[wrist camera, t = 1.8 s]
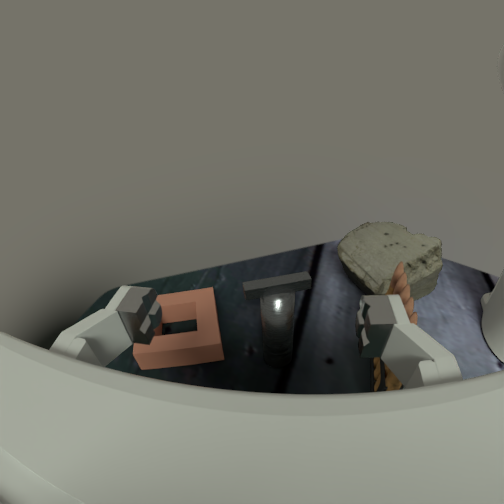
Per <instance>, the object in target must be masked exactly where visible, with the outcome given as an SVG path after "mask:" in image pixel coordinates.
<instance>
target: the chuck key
mask: <svg viewBox="0 0 504 504" xmlns="http://www.w3.org/2000/svg"><path fill="white" fill-rule="evenodd" d="M310 288H311V277H310V275H309V274H308V272H307V271H306V272H300V273H295V274H289V275H283V276H278V277H272V278H266V279H260V280H254V281H248V282H243V291H244V295H245V299H246V300H251V299H257V298H260V304H261V320H262V336H263V352H264V361H265V363H266V364H267V365H269V366H270V367H273V368H282V367H285V366H287V365H288V364H289V363H290V362H291V360H292V349H293V329H294V306H295V291H300V290H305V289H310Z"/></svg>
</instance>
